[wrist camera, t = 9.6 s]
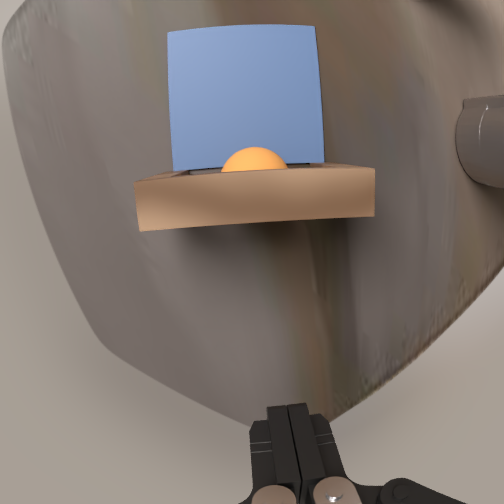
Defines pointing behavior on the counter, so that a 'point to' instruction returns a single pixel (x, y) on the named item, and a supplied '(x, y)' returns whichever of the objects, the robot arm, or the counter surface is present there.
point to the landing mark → (244, 94)
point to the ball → (254, 160)
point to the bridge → (254, 196)
